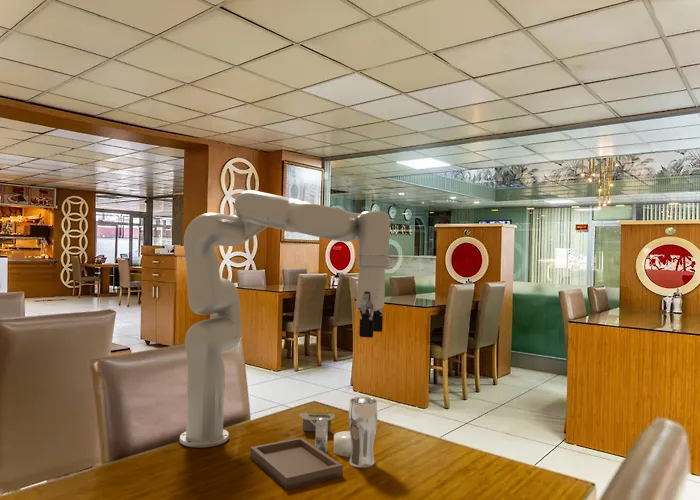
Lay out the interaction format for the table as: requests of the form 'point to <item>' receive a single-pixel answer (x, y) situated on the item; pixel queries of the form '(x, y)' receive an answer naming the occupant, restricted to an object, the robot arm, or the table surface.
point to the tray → (295, 463)
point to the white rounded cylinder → (342, 443)
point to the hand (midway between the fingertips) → (371, 334)
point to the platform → (315, 419)
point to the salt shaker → (321, 434)
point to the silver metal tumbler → (362, 431)
